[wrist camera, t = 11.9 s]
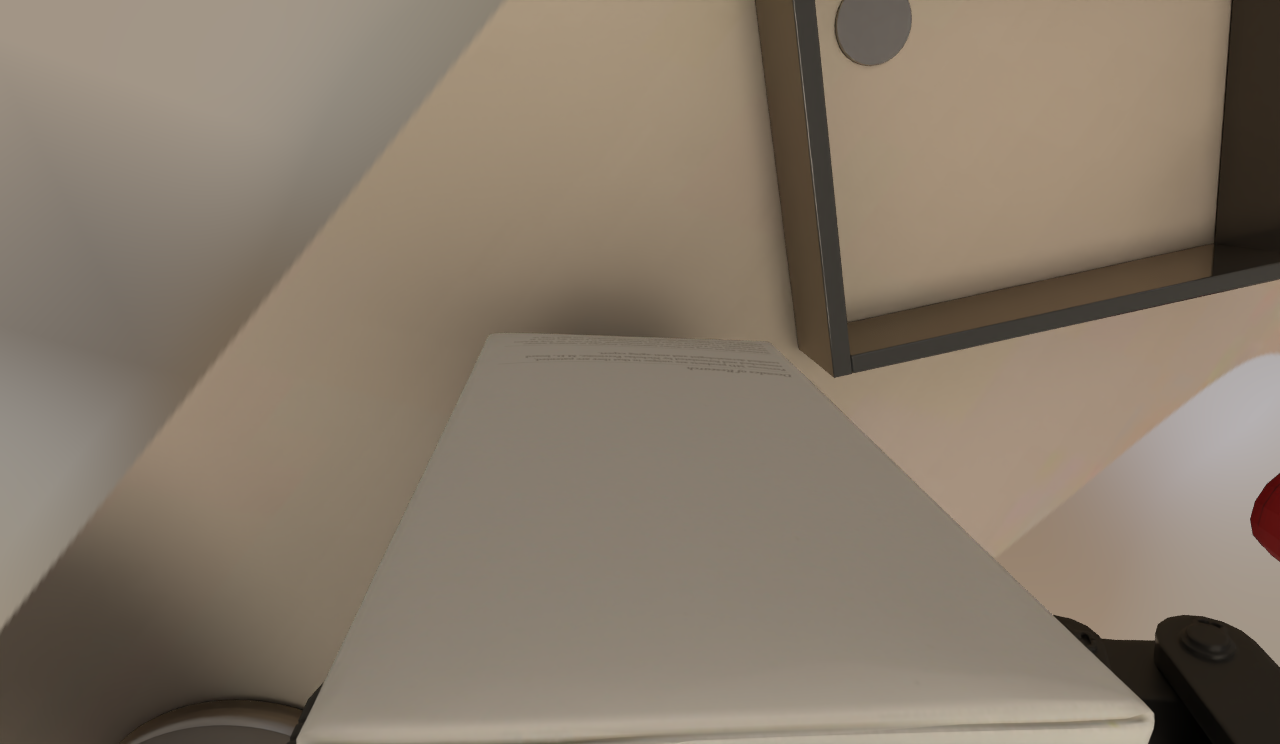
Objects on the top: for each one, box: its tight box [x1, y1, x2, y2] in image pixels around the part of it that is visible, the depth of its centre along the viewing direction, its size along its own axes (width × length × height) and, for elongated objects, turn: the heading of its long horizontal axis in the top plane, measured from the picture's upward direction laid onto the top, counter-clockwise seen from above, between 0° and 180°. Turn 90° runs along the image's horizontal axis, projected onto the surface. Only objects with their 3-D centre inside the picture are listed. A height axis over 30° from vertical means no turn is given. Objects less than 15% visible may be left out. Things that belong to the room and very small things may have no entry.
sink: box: [755, 0, 1280, 378], centre depth 24 cm, size 25×18×12 cm
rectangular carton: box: [296, 333, 1155, 744], centre depth 15 cm, size 9×9×15 cm
